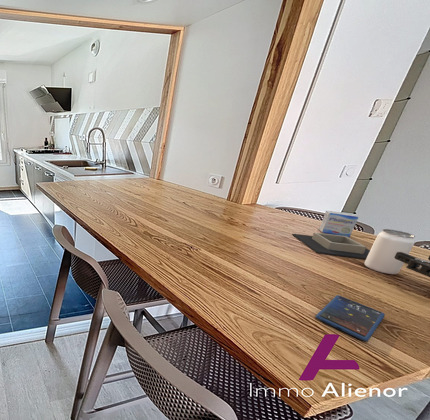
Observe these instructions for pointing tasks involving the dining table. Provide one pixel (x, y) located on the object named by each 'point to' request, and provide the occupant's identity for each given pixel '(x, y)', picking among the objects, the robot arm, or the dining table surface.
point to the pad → (334, 245)
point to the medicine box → (338, 223)
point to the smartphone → (351, 317)
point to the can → (389, 251)
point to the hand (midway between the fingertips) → (413, 255)
